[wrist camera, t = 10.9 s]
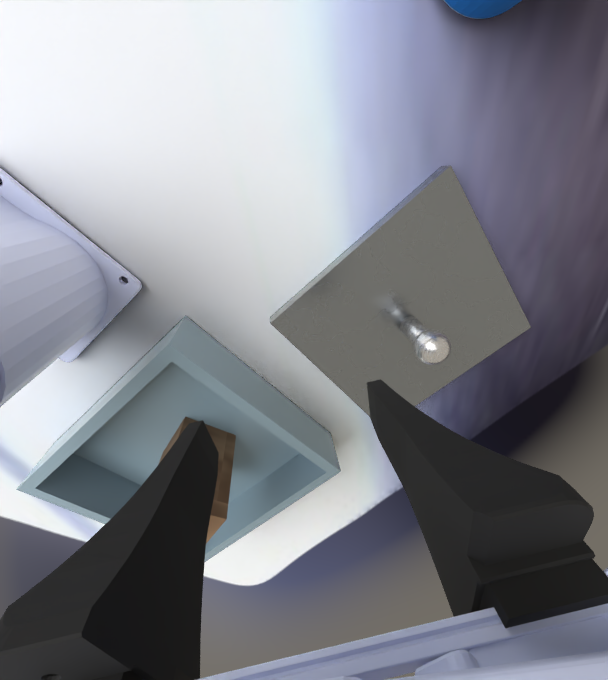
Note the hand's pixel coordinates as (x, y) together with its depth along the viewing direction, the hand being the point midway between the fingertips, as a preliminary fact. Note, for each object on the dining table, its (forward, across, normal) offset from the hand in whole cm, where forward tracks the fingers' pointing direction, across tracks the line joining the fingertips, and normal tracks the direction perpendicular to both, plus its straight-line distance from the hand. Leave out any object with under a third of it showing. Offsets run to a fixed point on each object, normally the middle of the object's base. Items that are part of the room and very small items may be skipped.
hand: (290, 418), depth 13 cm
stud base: (+9, -9, +2) cm, 13 cm away
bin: (+9, +9, +9) cm, 16 cm away
